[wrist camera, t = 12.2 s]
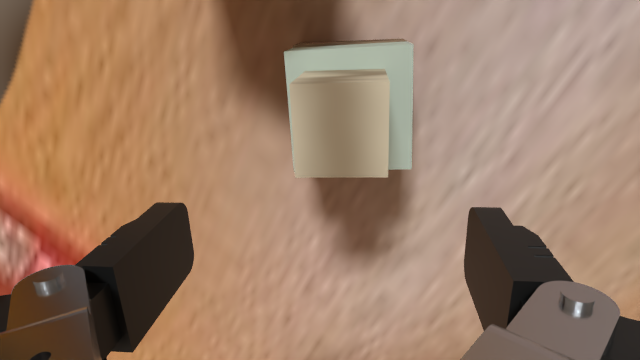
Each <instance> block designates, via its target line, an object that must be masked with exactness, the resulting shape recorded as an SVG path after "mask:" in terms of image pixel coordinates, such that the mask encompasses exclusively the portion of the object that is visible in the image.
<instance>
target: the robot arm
mask: <svg viewBox="0 0 640 360" xmlns="http://www.w3.org/2000/svg"><path fill="white" fill-rule="evenodd" d="M193 260H194V250H193V243H192V237H191V231H190V224H189V218H188V212H187V208H186V206H185V205H184V204H183V203H155V204H154V205H153V206H152V207H150V208H149V209H148V210H147V211H146V212H145V213H143V214H142V215H141V216H140V217H139V218H137V219H136V220H134V221H132V222H130V223H127V224H125V225H123V226H121V227H120V228H119V229H118V230H117V231H115V232H114V233H113V234H112V235H111V237H108V238H107V239H106V240H105V241H103V242H102V243H101V245H99V246H97V247H96V248H95V249H94V250H93V251H91V252H90V253H89V254H88V255H87V256H85V257H84V258H83V259H82V260H81V261H79V262H78V263H77V264H76V265H61V266H55V267H50V268H47V269H43V270H40V271H38V272H35V273H33V274H31V275H29V276H27V277H25V278H24V279H22V280H21V281H20V282H18V283H17V284H16V285H15V286H14V288H13V290H12V293H11V294H10V295H3V296H0V360H107V355H108V354H109V353H110V352H111V351H116V352H133V351H134V350H135V348H136V347H137V346H138V344H139V343H140V341H141V340H142V339H143V337H144V336H145V334H146V333H147V332H148V330H149V329H150V327H151V326H152V325H153V323H154V322H155V320H156V319H157V318H158V316H159V315H160V313H161V312H162V311H163V309H164V308H165V306H166V305H167V304H168V302H169V301H170V299H171V298H172V297H173V295H174V294H175V293H176V291H177V290H178V288H179V287H180V286H181V284H182V283H183V281H184V280H185V279H186V277H187V276H188V274H189V273H190V271H191V269H192V266H193ZM464 272H465V279H466V283H467V286H468V288H469V291H470V294H471V297H472V299H473V302H474V305H475V308H476V310H477V313H478V316H479V319H480V321H481V324H482V327H483V330H484V332H483V333H482V334H481V336H480V337H479V338H478V339H477V340H476V341H475V343H474V344H473V345H472V346H471V347H470V349H469V350H468V351H467V352H466V353H465V354H464V356H463V357H462V358H461V359H460V360H640V321H637V320H632V319H628V318H625V317H622V316H620V310H619V307H618V306H617V304H616V303H615V302H614V301H613V300H612V299H611V298H610V297H608V296H607V295H606V294H604V293H602V292H600V291H599V290H596V289H594V288H592V287H589V286H587V285H583V284H580V283H575V282H573V280H572V279H571V278H570V276H569V275H568V274H567V272H566V271H565V270H564V269H563V267H562V266H561V265H560V263H559V262H558V261H557V260H556V258H553V254H552V253H551V252H550V250H549V249H546V245H545V244H544V243H543V241H542V240H541V239H540V238H539V236H538V235H536V234H535V233H533V232H531V231H530V230H528V229H526V228H525V227H523V226H513V224H512V223H511V222H510V220H509V219H508V217H507V216H506V214H505V213H504V211H503V210H502V209H501V208H486V207H472V208H471V209H470V211H469V216H468V225H467V236H466V247H465V257H464Z"/></svg>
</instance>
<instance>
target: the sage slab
mask: <svg viewBox="0 0 640 360" xmlns="http://www.w3.org/2000/svg"><path fill="white" fill-rule="evenodd" d="M284 60H285V72H286V84H287V96H288V107H289V119H290V131H291V143H292V155H293V166H294V152H293V136H292V120H291V103H290V87H289V84H290V83H291V82H293V81H294V80H295V79H296V78H297V77H299V76H300V75H301V74H302V73H303V72H304V71H323V70H358V69H385V71H386V73H387V76H388V78H389V81H390V100H389V154H388V170H398V169H412V112H413V44H412V43H410V42H408V41H405V42H387V43H370V44H352V45H335V46H317V47H300V48H292V49H289V50H287V51H284ZM294 172H295V168H294Z"/></svg>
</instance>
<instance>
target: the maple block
mask: <svg viewBox="0 0 640 360" xmlns="http://www.w3.org/2000/svg"><path fill="white" fill-rule="evenodd" d="M289 87H290V103H291V120H292V136H293V152H294V168H295V178H362V177H388V154H389V100H390V81H389V78H388V76H387V73H386V71H385V69H358V70H323V71H304V72H303V73H302V74H301V75H300V76H299V77H297V78H296V79H295V80H294V81H293V82H291V83H290V84H289Z"/></svg>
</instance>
